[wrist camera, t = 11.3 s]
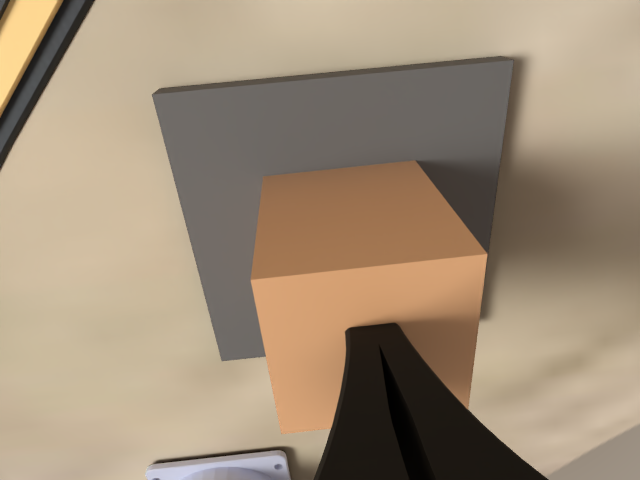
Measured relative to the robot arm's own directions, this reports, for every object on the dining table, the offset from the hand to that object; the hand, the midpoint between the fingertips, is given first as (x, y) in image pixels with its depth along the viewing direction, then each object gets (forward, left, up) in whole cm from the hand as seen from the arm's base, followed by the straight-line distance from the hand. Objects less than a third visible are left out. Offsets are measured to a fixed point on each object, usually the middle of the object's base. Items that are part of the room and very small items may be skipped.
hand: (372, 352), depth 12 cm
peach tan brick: (0, 0, -6) cm, 6 cm away
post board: (0, 0, -8) cm, 8 cm away
